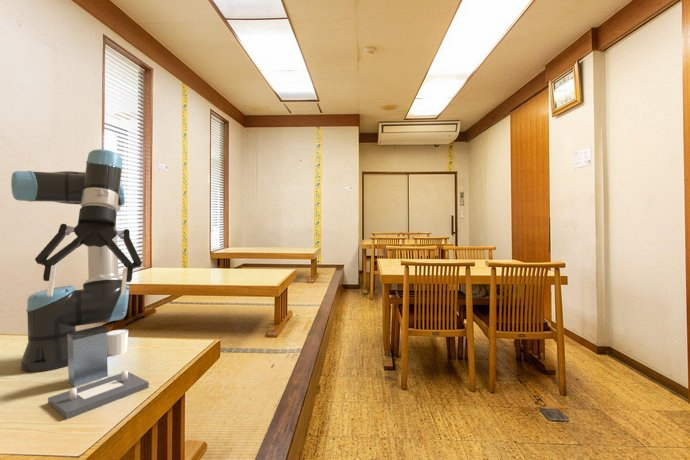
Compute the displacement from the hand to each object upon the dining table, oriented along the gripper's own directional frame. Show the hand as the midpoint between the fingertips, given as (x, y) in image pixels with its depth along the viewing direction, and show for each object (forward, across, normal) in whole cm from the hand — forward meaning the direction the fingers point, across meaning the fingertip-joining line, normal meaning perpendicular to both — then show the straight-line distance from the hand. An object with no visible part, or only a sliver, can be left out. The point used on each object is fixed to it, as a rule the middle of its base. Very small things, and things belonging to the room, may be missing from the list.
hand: (87, 295), depth 80 cm
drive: (+19, +2, +29) cm, 35 cm away
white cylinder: (+12, +9, +48) cm, 51 cm away
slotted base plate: (+23, +5, +17) cm, 29 cm away
